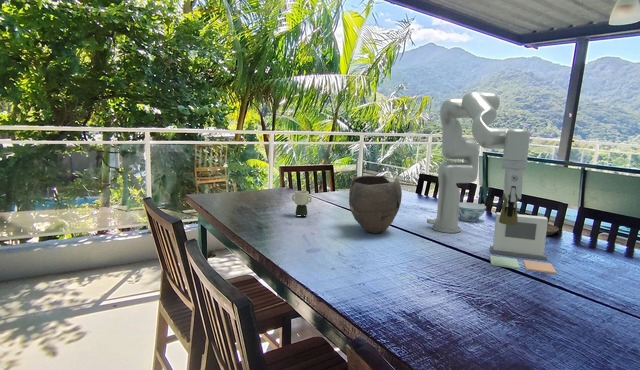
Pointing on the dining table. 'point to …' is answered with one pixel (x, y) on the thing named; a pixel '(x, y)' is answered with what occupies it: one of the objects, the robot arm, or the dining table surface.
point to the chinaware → (471, 211)
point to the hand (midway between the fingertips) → (508, 216)
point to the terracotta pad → (539, 266)
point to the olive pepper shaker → (506, 219)
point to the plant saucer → (551, 229)
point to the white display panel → (521, 237)
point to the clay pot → (374, 202)
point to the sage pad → (504, 262)
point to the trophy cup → (301, 202)
